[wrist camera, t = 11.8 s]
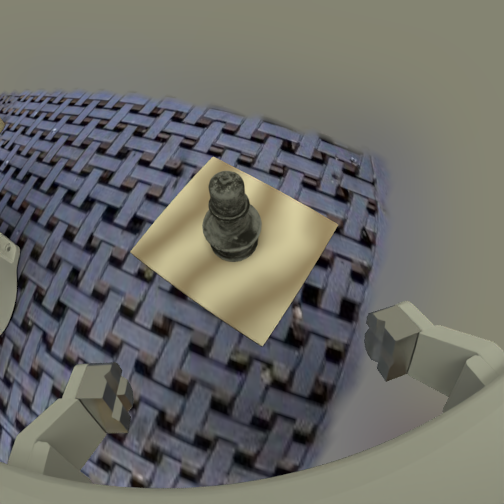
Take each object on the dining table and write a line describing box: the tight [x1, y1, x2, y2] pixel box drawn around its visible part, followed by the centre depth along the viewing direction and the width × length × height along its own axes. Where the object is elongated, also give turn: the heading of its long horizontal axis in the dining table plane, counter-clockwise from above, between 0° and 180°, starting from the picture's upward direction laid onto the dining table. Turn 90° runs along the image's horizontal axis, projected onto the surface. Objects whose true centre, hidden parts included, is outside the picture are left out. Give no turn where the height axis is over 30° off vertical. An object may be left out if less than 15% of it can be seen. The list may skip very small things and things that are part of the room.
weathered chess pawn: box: [202, 171, 262, 262], centre depth 27 cm, size 6×6×12 cm
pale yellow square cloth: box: [131, 157, 338, 346], centre depth 33 cm, size 18×16×1 cm
